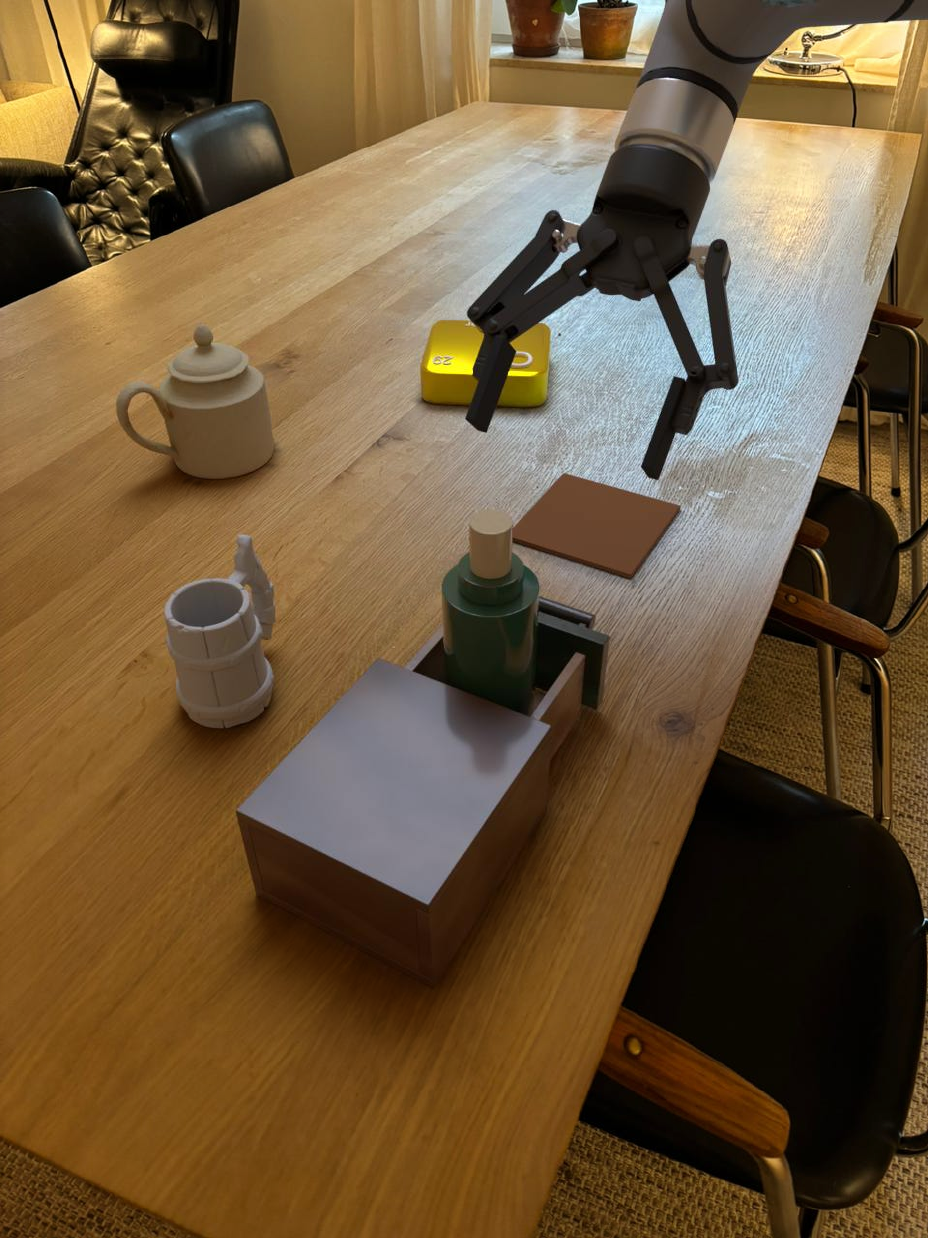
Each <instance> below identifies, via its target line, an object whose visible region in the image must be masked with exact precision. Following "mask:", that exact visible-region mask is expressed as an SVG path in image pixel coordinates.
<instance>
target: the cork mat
mask: <svg viewBox="0 0 928 1238" xmlns="http://www.w3.org/2000/svg"><path fill="white" fill-rule="evenodd" d="M680 510H681V505H679V504H676V503H673V502H669V501H665V500H662V499H659V498H654V497H651V496H647V495H644V494H640V493H637V492H633V491H630V490H627V489H624V488H620V487H619V488H618V487H615V486H612V485H608V484H606V483H605V484H604V483H601V482H598V481H594V480H591V479H587V478H584V477H580V476H576V475H572V474H569V473H566V472H563V473H562V474H561V475H560V476H559V477H558V478H557V479H556V481H554V483H553V484H552V485H551V486H550V487H549V488H548V489H547V490H546V491H545V493H543V495H542V496H541V497H540V498H539V499H538V500H537V501H536V502H535V504H533V505H532V507H530V509H529V510H528V511H527V512H526V513H525V514H524V516H522V518H520V520H519V521H518V522H517V523H516V524H515V525H513V540H512V542H514V543H517V544H520V545H523V546H526V547H529V548H533V549H536V550H539V551H542V552H545V553H548V554H552V555H555V556H557V557H561V558H564V559H567V560H571V561H573V562H577V563H580V564H583V565H586V566H590V567H593V568H596V569H599V570H602V571H605V572H609V573H612V574H614V575H618V576H621V577H624V578H627V579H632V578H633V576H634V575H635V573H636V572H637V570H638V569H639V568H640V566H641V565H642V564H643V562H644V561H645V559H646V558H647V556H648V555H649V554H650V553H651V552H652V549H653V548H654V547H655V546H656V544H657V542H658V541H659V540H660V538H661V537H662V535H663V534H664V533H665V531H666V530H667V528H668V527H669V526H670V524H671V523H672V521H673V520H674V519H675V517H676V516H677V514H678V513H679V512H680Z"/></svg>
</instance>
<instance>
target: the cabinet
mask: <svg viewBox="0 0 928 1238" xmlns="http://www.w3.org/2000/svg"><path fill="white" fill-rule="evenodd" d="M403 667H404V666H401V665H398V664H395V663H393V662H390V661H388V660H385V659H383V658H380V657H377V658H376V659H375V660H374V661H373V663H371V665H370V666H369V667H368V668H367V669H365V670H364V672H363V673H362V674H361V675H360V676H359V677H358V678H357V679H356V680H355V681H354V682H353V684H352V685H351V686H350V687H349V688H348V689H347V690H346V691H345V693H344V694H342V695H341V697H340V698H339V699H338V700H337V701H336V702H335V703H334V704H333V705H332V706H331V707H330V708H329V710H328V711H326V713H325V714H324V715H323V716H322V717H321V718H320V719H319V720H318V721H317V723H315V724H314V725H313V726H312V727H311V729H310V730H309V731H308V732H307V733H306V734H305V735H304V737H302V738H301V740H299V742H298V743H297V744H296V745H295V746H294V747H293V748H292V749H291V750H290V751H289V752H288V754H286V756H285V757H284V758H283V759H282V760H281V761H280V762H279V763H278V764H277V765H276V766H275V767H274V769H272V770H271V772H269V774H267V776H266V777H265V778H264V779H263V780H262V782H260V784H258V785H257V786H256V787H255V789H254V790H253V791H252V792H251V793H250V794H249V795H248V796H247V797H246V798H245V799H244V800H243V801H242V802H241V804H240V805H239V806H237V808H236V809H235V815H236V819H237V825H238V827H239V832H240V836H241V839H242V844H243V847H244V851H245V855H246V860H247V862H248V867H249V871H250V876H251V879H252V884H253V887H254V892H255V894H256V896H258V897H260V898H261V899H263V900H265V901H267V902H269V903H271V904H273V905H275V906H276V907H279V908H280V909H282V910H283V911H284V910H285V912H288V913H290V914H292V915H293V916H295V917H297V918H299V919H301V920H303V921H305V922H306V923H309V924H311V925H312V926H314V927H316V928H318V929H319V930H322V931H324V932H326V933H328V934H330V935H331V936H333V937H335V938H337V939H338V940H341V941H342V942H344V943H346V944H348V945H350V946H352V947H354V948H355V949H358V950H360V951H361V952H363V953H365V954H367V955H369V956H371V957H373V958H375V959H377V960H378V961H381V962H382V963H384V964H385V965H388V966H389V967H391V968H393V969H395V970H397V971H399V972H401V973H403V974H405V975H406V976H408V977H410V978H412V979H413V980H416V981H418V982H419V983H421V984H424V985H426V986H427V987H429V988H431V989H435V987H436V986H437V984H438V983H439V982H440V979H441V978H442V976H443V974H444V973H445V971H446V970H447V969H448V967H449V966H450V964H451V962H452V960H453V959H454V957H455V955H456V954H457V953H458V951H459V950H460V948H461V946H463V943H464V942H465V940H466V938H467V937H468V935H469V934H470V932H471V930H472V929H473V927H474V926H475V924H476V923H477V922H478V920H479V918H480V917H481V915H482V913H483V912H484V910H485V908H486V907H487V905H488V904H489V902H490V901H491V899H492V898H493V896H494V894H495V893H496V891H497V890H498V888H499V886H500V885H501V883H502V882H503V880H504V878H506V875H507V874H508V873H509V871H510V869H511V868H512V866H513V864H514V863H515V862H516V860H517V858H518V857H519V855H520V853H521V852H522V850H523V849H524V847H525V845H527V842H528V840H529V839H530V838H531V836H532V834H533V833H534V831H535V830H536V829H537V826H538V825H539V824H540V822H541V820H542V819H543V817H544V816H545V814H546V813H547V810H548V795H549V781H550V780H549V779H550V767H551V766H550V764H551V763H550V762H551V760H550V752H551V737H552V726H551V725H549V724H546V723H544V722H541V721H539V720H536V719H534V718H531V717H529V716H526V715H523V714H521V713H518V712H516V711H513V710H511V709H508V708H506V707H503V706H500V705H498V704H495V703H493V702H490V701H488V700H485V699H482V698H480V697H477V696H475V695H472V694H470V693H467V692H465V691H462V690H459V689H457V688H454V687H452V686H449V685H447V684H444V683H442V682H439V681H436V680H434V679H431V678H429V677H426V676H424V675H421V674H419V673H416V672H413V671H411V670H408V669H406V668H403Z"/></svg>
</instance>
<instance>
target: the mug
mask: <svg viewBox="0 0 928 1238" xmlns="http://www.w3.org/2000/svg"><path fill="white" fill-rule="evenodd" d="M236 544H237V548H236V552H235V553H234V557H233V560H234V561H233V563H234V569H233V572H232V573H231V574H230V575H229V576H228V577H227V578H217V577H215V578H209V577H208V578H203V579H202V578H201V579H199V580H196V581H192V582H189V583H187V584H185V585H182V586H181V587H179V588H177V589H176V590H175V591H174V592H173V593H172V594H170V596H169V598H168V600H167V602H166V603H165V605H164V609H163V616H164V620H165V625H166V630H167V634H166V636H165V644H166V647H167V651H168V653H169V656H170V657H171V659H172V660H173V663H174V667H175V675H176V677H177V678H176V680H175V683H174V685H175V693H176V697H177V701H178V703H179V704H180V706H181V707H182V709H183V710H184V711H185V712H186V713H187V715H188V717H189V718H190V720H192V721H193V722H195V723H197V724H198V725H201V726H203V727H206V728H211V729H229V728H232V727H235V726H239V725H241V724H246V723H248V722H250V721H252V720H255V719H257V717H259V716H260V715H261V714H262V713H263V712H264V711H265V708H267V707H268V706H269V704H270V702H271V699H272V693H273V692H272V691H273V688H274V683H275V676H274V672H273V668H272V666H271V664H270V662H269V660H268V659H267V658H266V657H265V653H264V650H263V649H264V648H263V645H262V640H263V641H269V640H271V638H272V634H273V625H274V624H275V623H276V621H277V620H276V604H275V602H274V599H275V588H274V584H273V582H271V581H270V579H269V578H268V574H267V572H266V571H265V570H264V568H263V565H262V564H261V562H260V559H259V558H258V557H259V556H258V555H256V552H255V549H254V546H253V538H252V535H248V534H238V535H237V537H236ZM246 585H247V586H248V587H249V588H250V594H249V591H248V590H247V589H246V588H245V586H246Z"/></svg>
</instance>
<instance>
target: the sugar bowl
mask: <svg viewBox="0 0 928 1238" xmlns="http://www.w3.org/2000/svg"><path fill="white" fill-rule="evenodd" d="M193 340H194V343H195V344H194V345H190V346H188V347H186V348H184V349H182V350H181V351H180V352H179V353H178V354H177V355H176V356H174V357H173V358H172V359H171V360H170V361H169V362H168V364H167V366H166V369H167V371H168V374H169V375H167V376H166V377H165V378H164V379H162V382H161V383H160V385H159V387H158V389H157V388H156V387H155V386H154V385H152V384H150V383H149V382H146V381H143V380H139V381H138V380H137V381H131V382H130V383H127V384H125V385H124V387H122V388H121V389H120V391H119V393H118V395H117V398H116V403H115V411H116V412H115V413H116V416H117V420H118V422H119V424H120V427H121V429H123V431H124V432H125V434H126V435H127V436H128V438H130V439H131V440H132V441H133V442H134V443H136V444H137V445H139V446H141V447H142V448H144V449H146V450H148V451H151V452H153V453H156V454H160V455H161V454H162V455H165V456H169V457H170V458H172V459H173V460H174V463H175V465H176V466H177V468H178V469H180V470H181V471H182V472H184V473H185V474H187V475H189V476H192V477H196V478H200V479H208V480H223V479H232V478H237V477H241V476H244V475H246V474H249V473H251V472H254V471H256V470H258V469H260V468H262V467H263V466H264V465H266V464H267V463H268V462H269V461H270V460H271V458H272V457H273V454H274V452H275V442H274V434H273V428H272V427H273V426H272V420H271V419H272V418H271V411H270V404H269V399H268V393H267V387H266V382H265V378H264V377H265V376H264V375H263V373H262V372H261V371H260V370H259V369H258V368H256V367H254V366H252V365H250V364H249V363H250V358H249V355H248V354H247V353H245V352H244V351H243V350H241V349H239V348H237V347H234V346H231V345H229V344H226V343H221V342H213V340H214V334H213V333H212V330H211V329H210V328H209V326H207V325H206V324H204V323H201V322H200V323H199V324H197V326H196V327H195V328H194V331H193ZM141 393H145V394H147V395H150V396H151V398H152V400H153V401H154V403H155V405H156V407H157V409H158V411H159V413H160V414H161V417H162V418H163V420H164V425H165V430H166V432H167V436H168V440H169V445H170V446H169V445H166V444H164V443H161V442H157V441H154V440H151V439H149V438H146V437H145V436H143V435H141V434H139V432H137V431H136V430H135V428H134V427H133V425H132V423H131V421H130V416H129V408H130V404H131V401H132V399H133V398H134V397H135V396H137V395H138V394H141Z"/></svg>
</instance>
